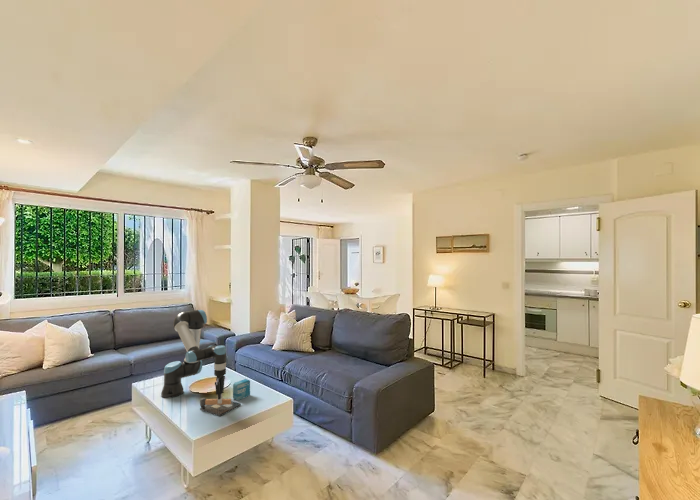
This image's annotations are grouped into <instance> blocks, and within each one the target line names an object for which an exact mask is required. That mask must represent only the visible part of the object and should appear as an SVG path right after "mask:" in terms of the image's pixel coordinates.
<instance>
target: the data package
mask: <svg viewBox="0 0 700 500" xmlns="http://www.w3.org/2000/svg"><path fill="white" fill-rule="evenodd" d="M250 395H251V380H249V379H246V378H243V379H242V380H239V381H236V382H235V381H234V383H233V384H232V399H234V400H235V401H240V400H242V399H245V398H247V397H249V396H250Z"/></svg>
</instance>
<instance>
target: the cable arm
mask: <svg viewBox="0 0 700 500" xmlns="http://www.w3.org/2000/svg"><path fill="white" fill-rule="evenodd" d="M199 400H200V401H199V405H200V407H201V406H204V405H223V404H231V401H232V398H223V399H222V404H218V398H206V397H202V398H201V397H200V399H199Z"/></svg>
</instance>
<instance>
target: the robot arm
mask: <svg viewBox="0 0 700 500" xmlns="http://www.w3.org/2000/svg"><path fill="white" fill-rule="evenodd" d="M207 322H208V317H207V314H206V312H205V310H203V309H195V310H188V311H182V312H180V313H178V314H177V315H176V316H175V317H174V319H173V322H172V323H173V324H172V326H173V329H174V331H175V332H177V334H178V336H179V338H180V340H181V342H182V345H183V346H184V348H185V350H186V353H185V357H184V359H183V362H182V361H180V360H176V361H172V362H171V361H170V362H169V363H167V364H166V365H165V366H164V369H163V387H162V390H161V393H160V394H161V395H160V396H161V397H162V398H166V399H167V398H175V397H179V396H180V395H182V394H184V386H183V384H182V379H184V378H187V377H191V376H195V375H198V374H200V373H201V371H202V370H203V360H204V361H205V360H208V359H214V360H213V361H214V362H213V363H214V364H213V365H214V366H213V368H214V370H213V371H214V372H213V374H214V376H215V377H216V378H215V380H216V381H215V382H214V387H215V395H217V399H218V404H222V398H223V393H224V390H225V389H224V388H225V379H226V376H225V375H226V373H227V369H226V367H227V347H226V345H222V344H221V345H217V346H216V345H209V346H207V347H205V348H200V342H201V330H202V329H203V328H204V325H206V324H207Z"/></svg>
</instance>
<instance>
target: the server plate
mask: <svg viewBox="0 0 700 500" xmlns="http://www.w3.org/2000/svg"><path fill="white" fill-rule="evenodd" d="M222 399H224V398H223V397H222ZM241 406H242V404H241V403H239V402H235V401H233V400H231V404H223V405H204V406H200V408H199V410H200V411H201V412H202V411H203V412H206V413H208V414H210V415H211V414H212V415H214V416H217V417H221V416H224V415H225V414H227V413H230V412H231V411H233V410H235V409H236V408H239V407H241Z"/></svg>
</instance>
